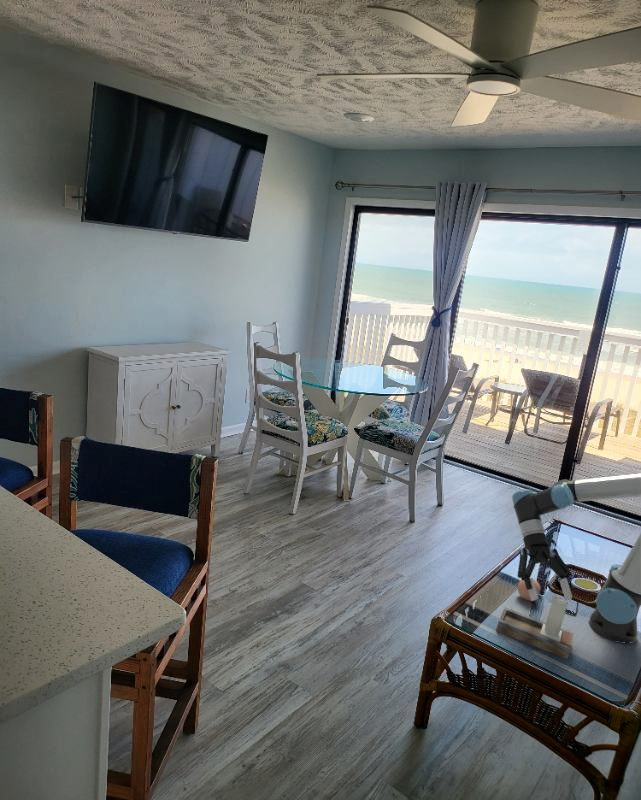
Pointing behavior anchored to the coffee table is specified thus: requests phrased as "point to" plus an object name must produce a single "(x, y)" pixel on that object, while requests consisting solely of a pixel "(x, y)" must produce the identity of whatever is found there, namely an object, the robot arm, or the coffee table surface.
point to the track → (533, 632)
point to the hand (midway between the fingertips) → (552, 599)
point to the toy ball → (523, 590)
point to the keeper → (554, 620)
